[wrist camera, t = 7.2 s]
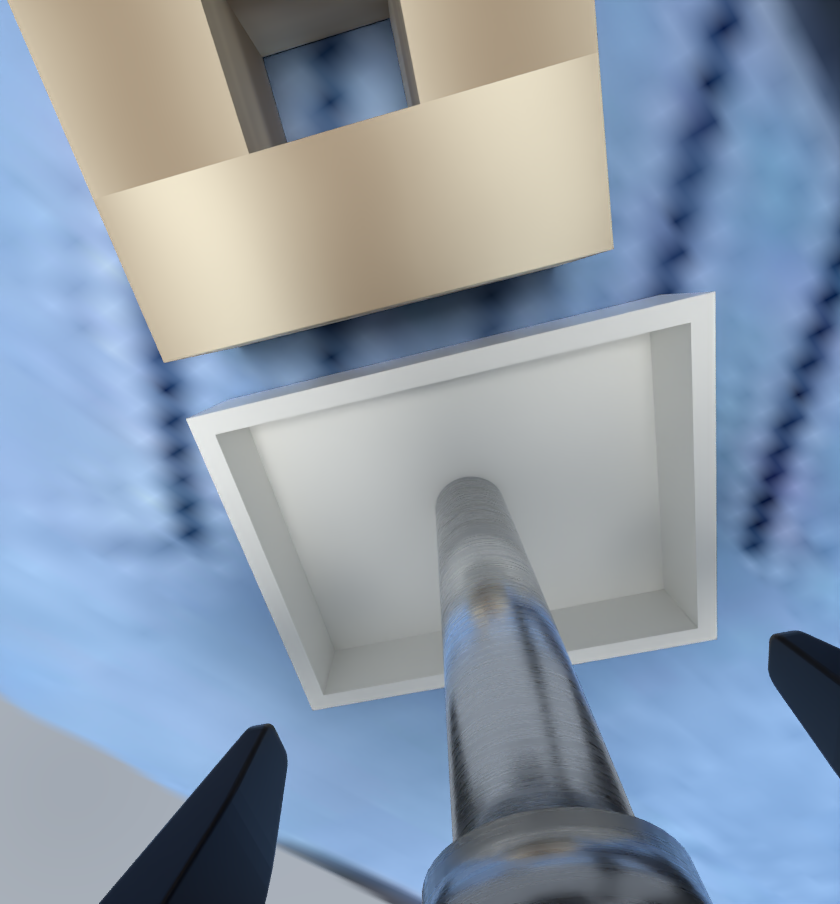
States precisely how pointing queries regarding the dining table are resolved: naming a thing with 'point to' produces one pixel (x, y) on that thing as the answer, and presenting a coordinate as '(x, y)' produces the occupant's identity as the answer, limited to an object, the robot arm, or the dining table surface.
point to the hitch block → (325, 156)
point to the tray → (497, 460)
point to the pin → (528, 741)
